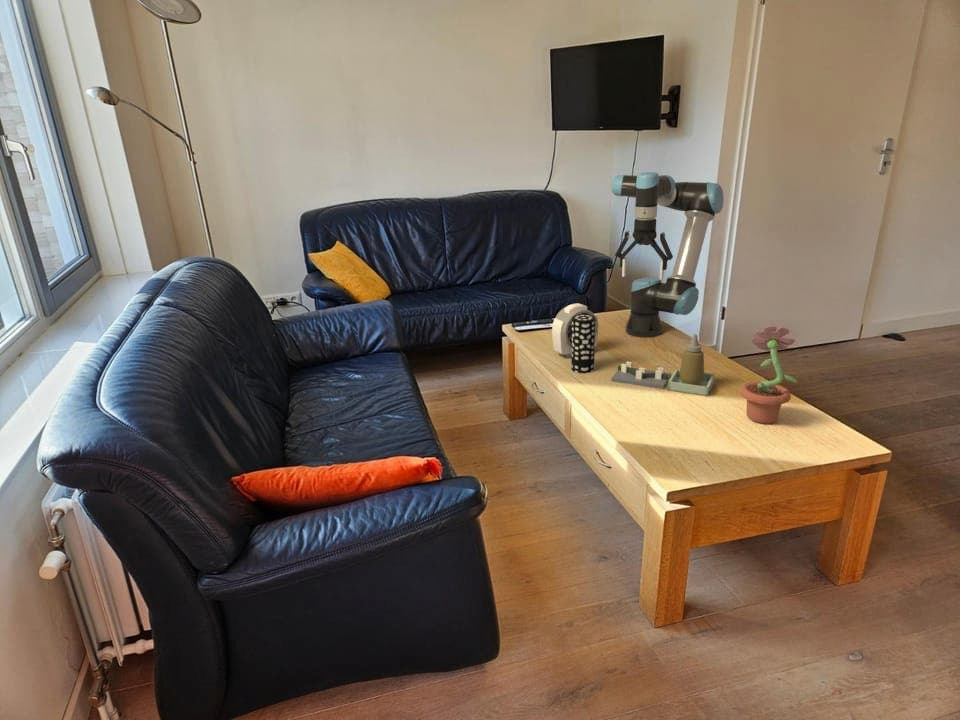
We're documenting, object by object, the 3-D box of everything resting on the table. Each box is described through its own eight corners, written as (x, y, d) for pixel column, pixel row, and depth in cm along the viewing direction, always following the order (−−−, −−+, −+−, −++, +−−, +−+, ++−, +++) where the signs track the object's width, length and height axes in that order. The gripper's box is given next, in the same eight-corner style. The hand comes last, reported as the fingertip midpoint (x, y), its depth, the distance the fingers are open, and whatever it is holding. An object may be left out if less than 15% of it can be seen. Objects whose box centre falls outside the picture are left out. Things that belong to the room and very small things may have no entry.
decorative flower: (790, 412, 192) (804, 319, 182) (791, 432, 181) (806, 334, 170) (738, 405, 198) (749, 315, 187) (735, 424, 187) (746, 329, 176)
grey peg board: (620, 369, 231) (621, 359, 229) (670, 376, 222) (671, 365, 221) (611, 381, 221) (611, 370, 219) (663, 389, 213) (664, 378, 211)
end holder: (675, 376, 222) (676, 368, 221) (713, 381, 216) (714, 373, 215) (667, 390, 212) (667, 382, 211) (707, 396, 206) (708, 387, 205)
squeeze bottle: (700, 380, 217) (704, 331, 211) (705, 389, 210) (710, 338, 203) (676, 380, 218) (680, 331, 212) (680, 389, 211) (684, 339, 204)
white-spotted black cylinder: (598, 368, 232) (599, 316, 225) (585, 375, 227) (586, 322, 220) (579, 363, 238) (580, 312, 231) (566, 369, 232) (567, 318, 225)
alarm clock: (562, 361, 240) (562, 311, 233) (550, 355, 247) (549, 305, 240) (600, 352, 248) (601, 303, 240) (587, 346, 255) (588, 298, 247)
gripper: (607, 218, 223) (606, 277, 231) (679, 221, 212) (675, 282, 220) (613, 215, 229) (612, 272, 237) (684, 217, 218) (679, 277, 226)
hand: (642, 277), depth 228 cm, fingers open, 13 cm apart
